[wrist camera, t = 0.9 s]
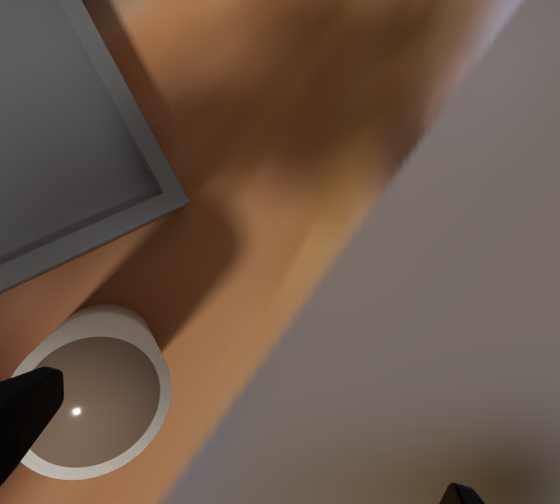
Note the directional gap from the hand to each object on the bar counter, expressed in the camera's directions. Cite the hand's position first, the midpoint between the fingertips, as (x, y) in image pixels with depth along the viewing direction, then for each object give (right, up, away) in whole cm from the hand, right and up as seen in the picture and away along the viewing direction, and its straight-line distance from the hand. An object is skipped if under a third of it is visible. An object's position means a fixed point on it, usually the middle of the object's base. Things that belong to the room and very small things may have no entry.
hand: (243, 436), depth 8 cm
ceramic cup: (-9, -1, +11) cm, 14 cm away
